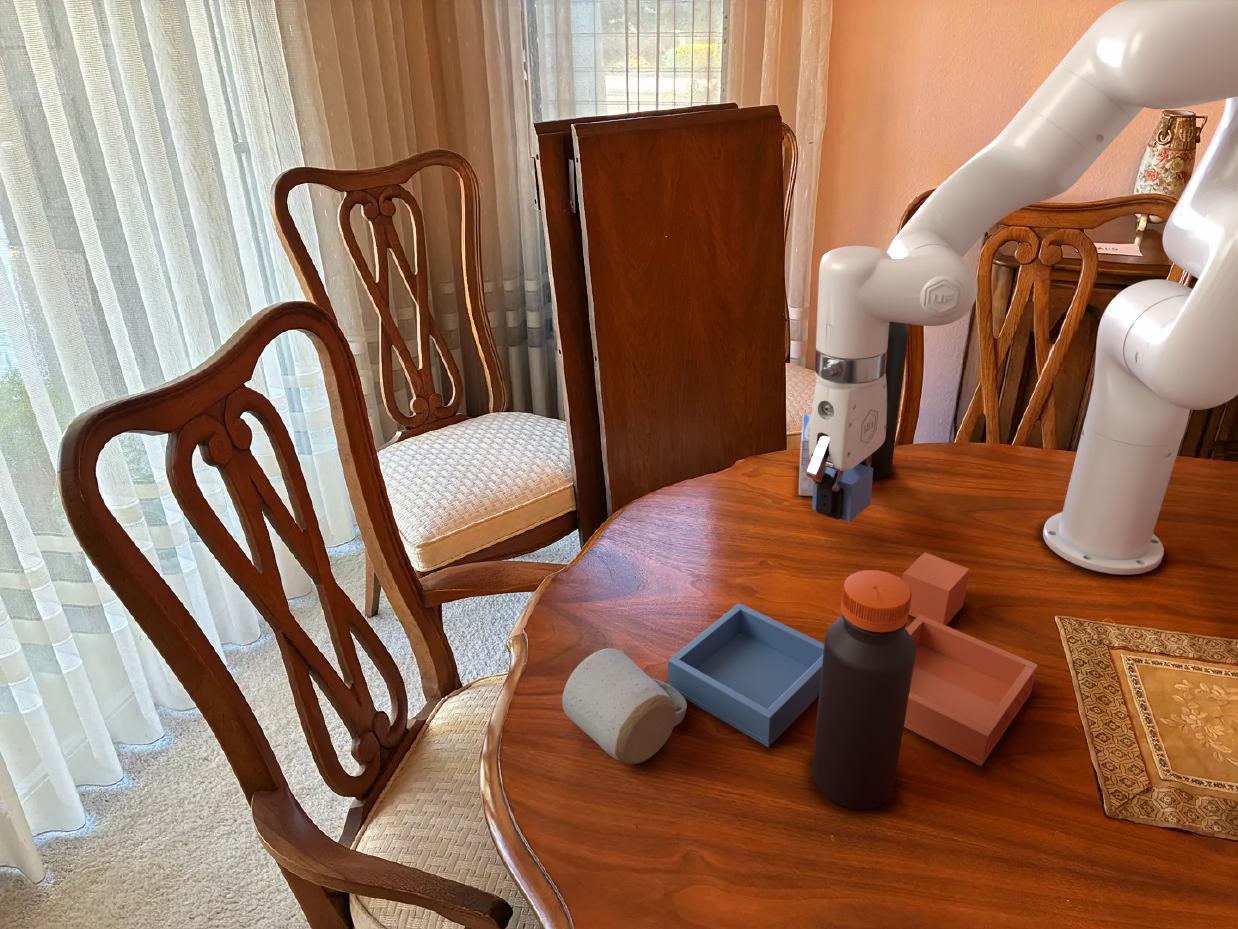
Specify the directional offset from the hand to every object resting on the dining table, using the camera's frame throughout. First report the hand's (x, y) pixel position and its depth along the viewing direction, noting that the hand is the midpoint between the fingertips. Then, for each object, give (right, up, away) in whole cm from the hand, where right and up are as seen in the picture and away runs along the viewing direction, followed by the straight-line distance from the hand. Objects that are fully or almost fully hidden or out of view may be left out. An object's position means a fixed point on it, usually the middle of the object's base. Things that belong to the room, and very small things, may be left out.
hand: (841, 503), depth 102 cm
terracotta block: (+7, -11, -10) cm, 16 cm away
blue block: (0, 0, 0) cm, 0 cm away
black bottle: (-7, -22, -29) cm, 38 cm away
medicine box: (0, +2, +15) cm, 15 cm away
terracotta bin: (+4, -17, -22) cm, 28 cm away
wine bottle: (+9, +4, +18) cm, 20 cm away
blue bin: (-14, -17, -19) cm, 29 cm away
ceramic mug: (-25, -20, -23) cm, 40 cm away
